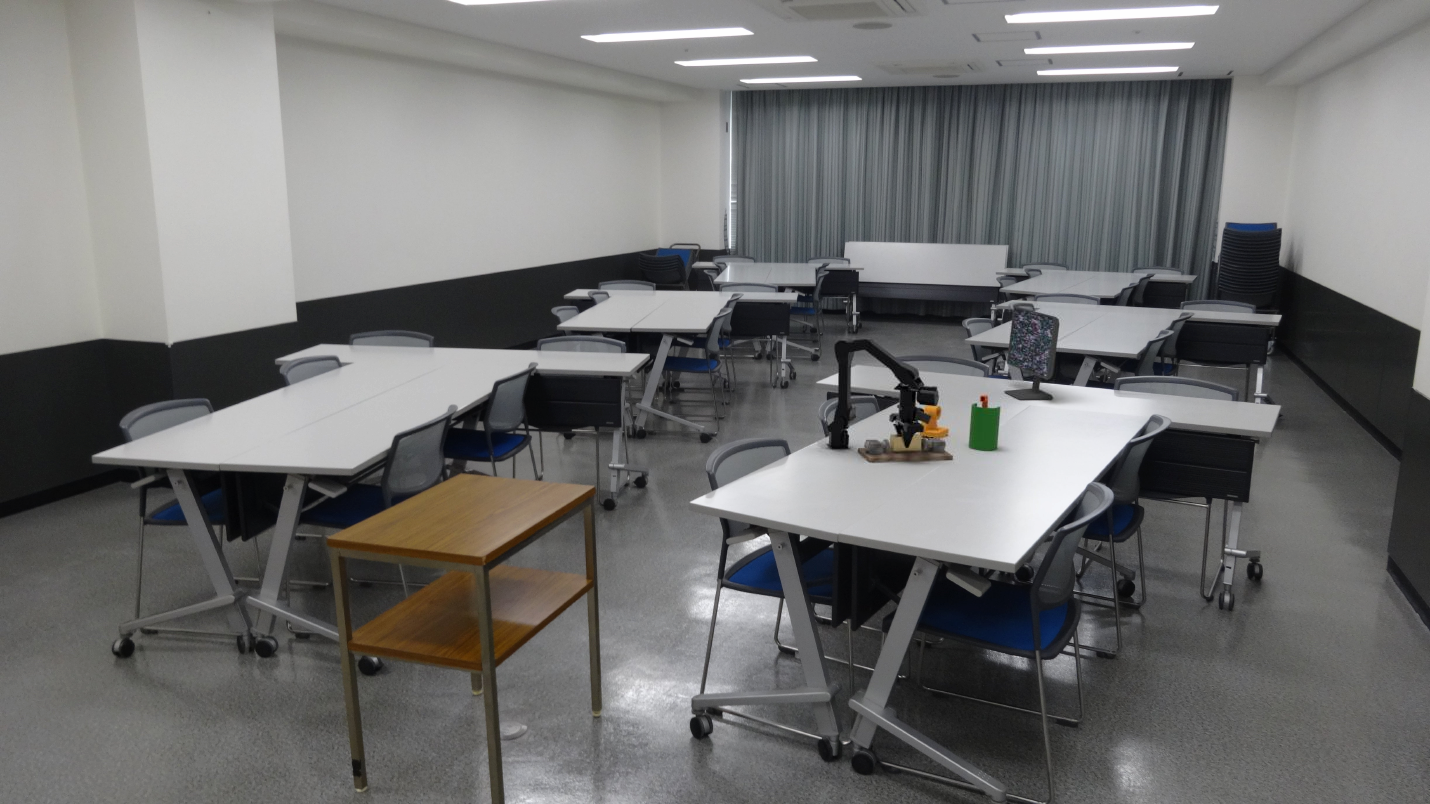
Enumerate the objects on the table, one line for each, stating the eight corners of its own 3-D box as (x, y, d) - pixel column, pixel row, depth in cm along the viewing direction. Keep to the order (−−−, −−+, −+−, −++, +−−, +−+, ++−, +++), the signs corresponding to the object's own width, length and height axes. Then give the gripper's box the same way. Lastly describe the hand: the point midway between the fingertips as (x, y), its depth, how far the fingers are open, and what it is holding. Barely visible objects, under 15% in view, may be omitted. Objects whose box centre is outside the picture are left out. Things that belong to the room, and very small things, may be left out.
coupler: (916, 447, 338) (917, 433, 337) (920, 450, 334) (921, 436, 333) (889, 448, 336) (890, 434, 335) (893, 451, 333) (894, 437, 331)
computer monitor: (992, 387, 464) (999, 305, 456) (1024, 387, 466) (1031, 305, 458) (1031, 406, 422) (1039, 316, 413) (1066, 406, 423) (1074, 316, 415)
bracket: (936, 440, 359) (938, 409, 356) (919, 437, 363) (921, 406, 361) (949, 435, 367) (951, 404, 365) (931, 432, 372) (933, 402, 369)
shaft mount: (870, 462, 327) (870, 445, 325) (857, 452, 340) (858, 435, 339) (952, 459, 331) (953, 442, 330) (937, 449, 345) (938, 433, 344)
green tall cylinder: (998, 446, 351) (1002, 393, 346) (994, 452, 343) (999, 397, 339) (970, 443, 355) (974, 390, 351) (966, 448, 347) (970, 395, 343)
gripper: (939, 408, 324) (936, 452, 327) (919, 397, 342) (917, 439, 345) (908, 409, 322) (905, 453, 326) (889, 397, 340) (887, 440, 344)
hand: (904, 446), depth 335 cm, fingers closed on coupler, 4 cm apart
